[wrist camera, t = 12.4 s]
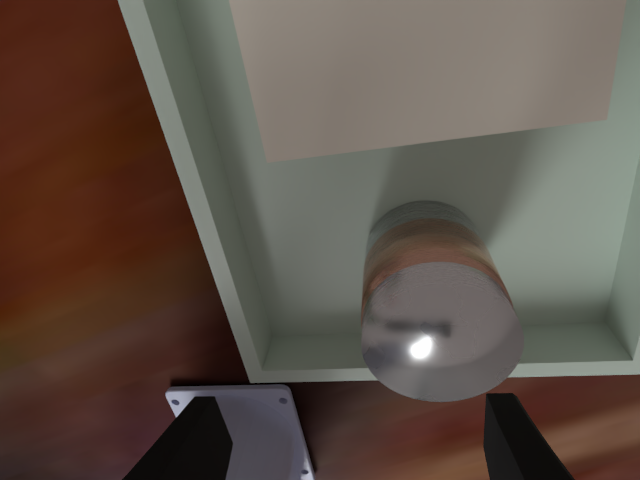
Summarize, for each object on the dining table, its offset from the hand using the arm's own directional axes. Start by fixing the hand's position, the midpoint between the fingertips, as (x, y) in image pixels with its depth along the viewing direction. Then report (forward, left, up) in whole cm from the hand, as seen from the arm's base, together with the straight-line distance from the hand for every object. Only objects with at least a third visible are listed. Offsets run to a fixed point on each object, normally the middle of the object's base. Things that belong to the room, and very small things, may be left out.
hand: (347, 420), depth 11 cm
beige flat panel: (+9, -3, -9) cm, 13 cm away
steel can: (0, -3, -9) cm, 9 cm away
